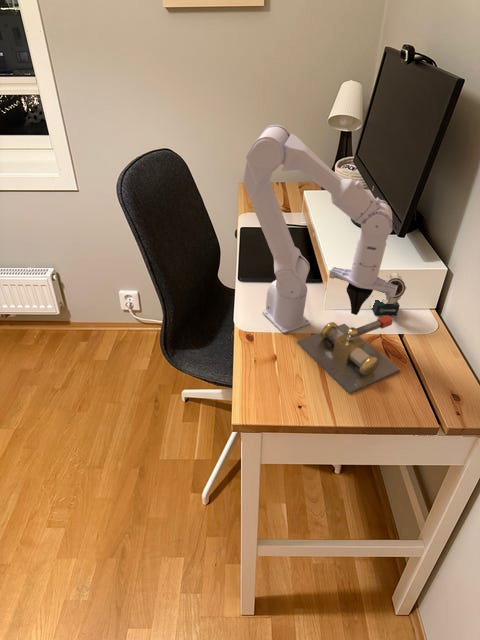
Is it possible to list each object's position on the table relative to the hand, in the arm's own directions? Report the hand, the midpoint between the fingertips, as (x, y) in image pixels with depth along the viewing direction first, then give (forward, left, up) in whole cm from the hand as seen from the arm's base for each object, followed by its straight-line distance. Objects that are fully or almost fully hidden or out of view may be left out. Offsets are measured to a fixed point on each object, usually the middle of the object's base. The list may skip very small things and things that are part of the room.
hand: (355, 312), depth 104 cm
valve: (+6, -7, -6) cm, 11 cm away
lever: (+6, -2, -1) cm, 7 cm away
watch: (-3, +13, -6) cm, 15 cm away
